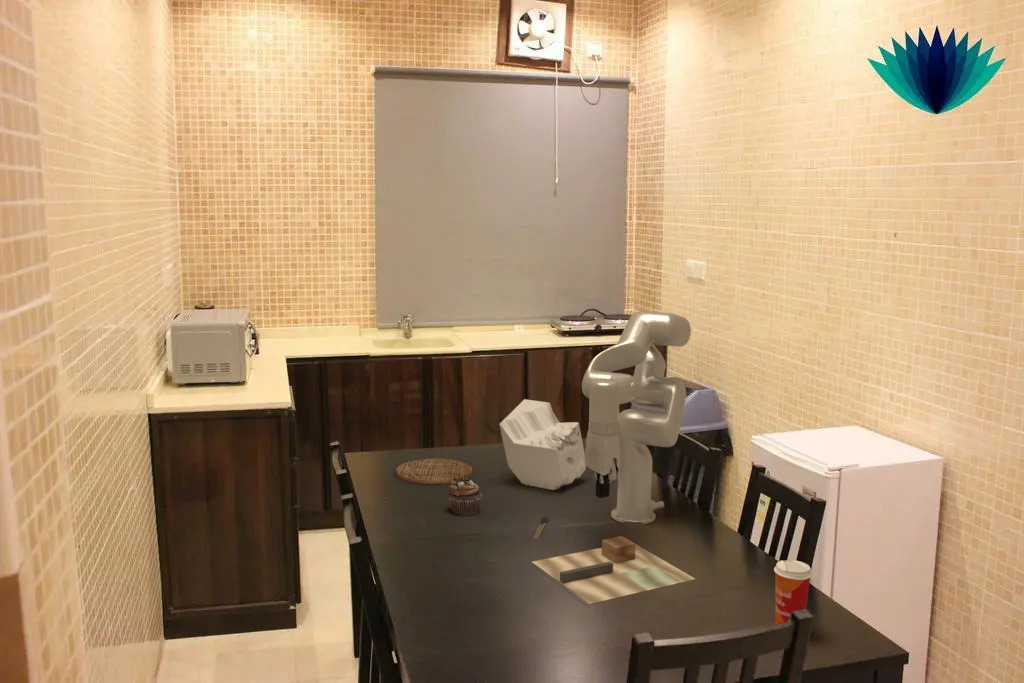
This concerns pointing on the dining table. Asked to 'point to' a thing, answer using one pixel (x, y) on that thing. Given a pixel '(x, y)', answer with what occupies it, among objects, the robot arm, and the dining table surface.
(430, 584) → the dining table surface
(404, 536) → the dining table surface
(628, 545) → the walnut block
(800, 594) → the paper cup
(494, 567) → the dining table surface
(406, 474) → the trivet
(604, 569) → the dark gray bar
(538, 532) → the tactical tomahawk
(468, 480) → the cupcake
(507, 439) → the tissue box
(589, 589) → the board
